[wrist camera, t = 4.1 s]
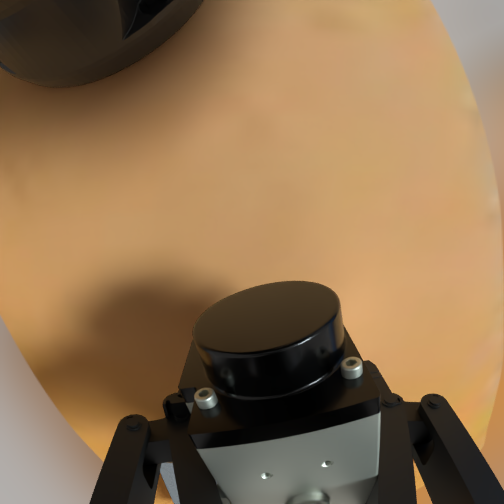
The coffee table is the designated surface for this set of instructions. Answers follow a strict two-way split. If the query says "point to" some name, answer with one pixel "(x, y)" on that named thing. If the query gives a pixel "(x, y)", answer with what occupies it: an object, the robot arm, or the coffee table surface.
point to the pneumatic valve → (282, 398)
